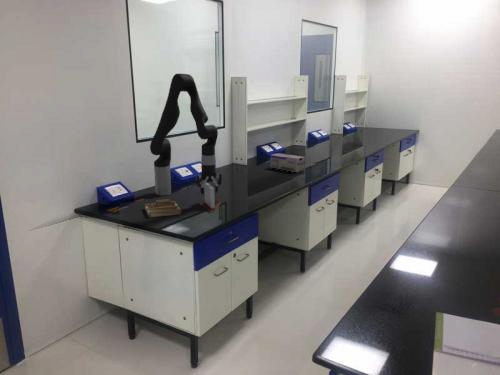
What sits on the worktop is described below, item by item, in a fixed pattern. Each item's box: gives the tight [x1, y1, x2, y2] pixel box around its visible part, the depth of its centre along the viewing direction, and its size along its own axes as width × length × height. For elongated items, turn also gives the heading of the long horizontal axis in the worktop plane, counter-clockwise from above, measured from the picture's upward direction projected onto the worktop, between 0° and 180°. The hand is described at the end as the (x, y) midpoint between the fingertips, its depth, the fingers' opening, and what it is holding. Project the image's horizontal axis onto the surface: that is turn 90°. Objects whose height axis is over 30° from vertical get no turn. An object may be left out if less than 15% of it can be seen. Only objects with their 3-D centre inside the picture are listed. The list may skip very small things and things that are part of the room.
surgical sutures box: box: [269, 152, 306, 173], centre depth 324 cm, size 25×11×11 cm, turn 47°
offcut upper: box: [155, 198, 172, 207], centre depth 221 cm, size 4×7×2 cm, turn 115°
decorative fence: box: [106, 198, 149, 214], centre depth 230 cm, size 25×2×10 cm
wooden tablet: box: [200, 198, 223, 214], centre depth 232 cm, size 26×2×10 cm
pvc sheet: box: [203, 182, 216, 208], centre depth 229 cm, size 2×12×11 cm, turn 21°
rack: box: [144, 200, 182, 218], centre depth 218 cm, size 15×16×4 cm
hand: (209, 193), depth 229 cm, fingers open, 6 cm apart
